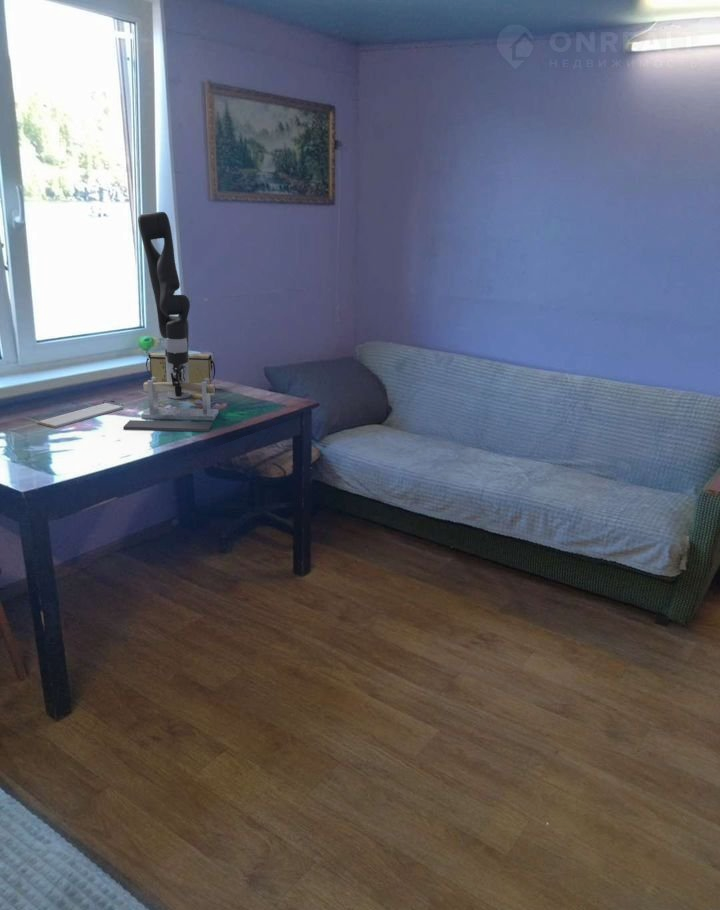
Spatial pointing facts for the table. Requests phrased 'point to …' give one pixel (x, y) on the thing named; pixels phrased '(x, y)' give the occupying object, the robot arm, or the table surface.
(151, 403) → the hook rack
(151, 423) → the rubber mat
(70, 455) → the table surface
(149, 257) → the robot arm
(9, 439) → the table surface
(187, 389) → the birch rail
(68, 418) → the baseboard molding
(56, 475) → the table surface
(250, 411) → the table surface
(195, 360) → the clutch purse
